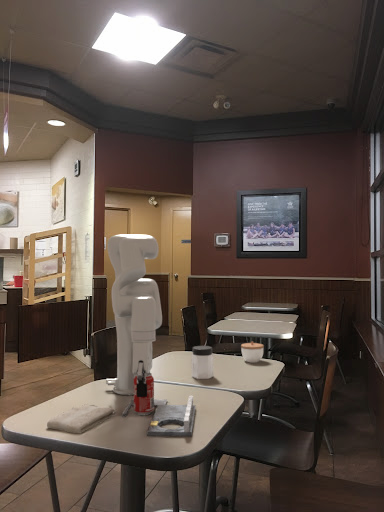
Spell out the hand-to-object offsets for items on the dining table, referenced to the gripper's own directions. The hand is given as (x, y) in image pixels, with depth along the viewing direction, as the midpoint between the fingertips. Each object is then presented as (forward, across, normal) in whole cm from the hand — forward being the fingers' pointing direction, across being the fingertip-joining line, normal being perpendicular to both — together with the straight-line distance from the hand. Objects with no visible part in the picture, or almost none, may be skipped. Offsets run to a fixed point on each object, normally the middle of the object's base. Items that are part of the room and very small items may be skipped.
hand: (143, 392), depth 138 cm
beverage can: (+6, 0, 0) cm, 6 cm away
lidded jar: (+6, -75, +40) cm, 85 cm away
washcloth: (+7, +8, -17) cm, 20 cm away
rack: (+6, +7, +10) cm, 14 cm away
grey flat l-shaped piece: (+6, -4, 0) cm, 7 cm away
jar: (+6, -45, +17) cm, 49 cm away
